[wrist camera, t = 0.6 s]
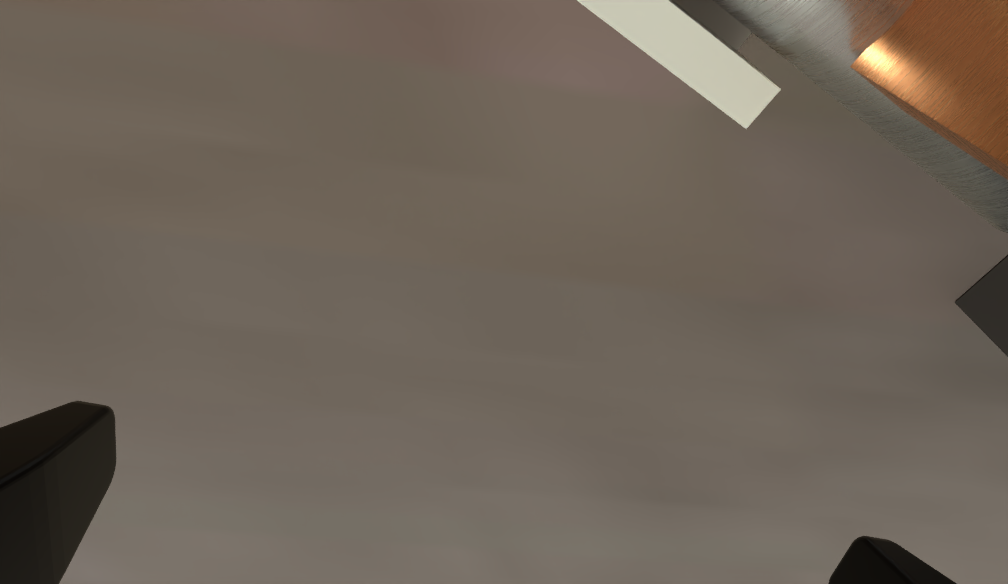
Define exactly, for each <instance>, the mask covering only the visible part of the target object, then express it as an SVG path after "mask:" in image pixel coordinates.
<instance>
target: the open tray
mask: <svg viewBox="0 0 1008 584" xmlns="http://www.w3.org/2000/svg"><path fill="white" fill-rule="evenodd" d="M577 1H578V2H580V3H581V4H582V5H584V6H585V7H586V8H588V9H589V10H590V11H592V12H593V13H594V14H596V15H597V16H598V17H599V18H601V19H602V20H603V21H605V22H606V23H607V24H609V25H610V26H611V27H613V28H614V29H615V30H617V31H618V32H619V33H621V34H622V35H623V36H624V37H626V38H627V39H628V40H630V41H631V42H632V43H634V44H635V45H636V46H638V47H639V48H640V49H642V50H643V51H644V52H646V53H647V54H648V55H649V56H651V57H652V58H653V59H655V60H656V61H657V62H659V63H660V64H661V65H663V66H664V67H665V68H667V69H668V70H669V71H671V72H672V73H673V74H674V75H676V76H677V77H678V78H680V79H681V80H682V81H684V82H685V83H686V84H688V85H689V86H690V87H692V88H693V89H694V90H696V91H697V92H698V93H699V94H701V95H702V96H703V97H705V98H706V99H707V100H709V101H710V102H711V103H713V104H714V105H715V106H717V107H718V108H719V109H721V110H722V111H723V112H725V113H726V114H727V115H728V116H730V117H731V118H732V119H734V120H735V121H736V122H738V123H739V124H740V125H742V126H743V127H744V128H746V129H747V128H748V126H749V125H750V124H751V123H752V122H753V121H754V119H755V118H756V117H757V116H758V115H759V114H760V113H761V111H762V110H763V109H764V108H765V107H766V106H767V105H768V103H769V102H770V101H771V100H772V99H773V98H774V97H775V95H776V94H777V93H778V92H779V91H780V90H781V89H780V88H779V87H778V86H776V85H775V84H774V83H773V82H772V81H771V80H770V79H769V78H767V77H766V76H765V75H764V74H763V73H762V72H761V71H759V70H758V69H757V68H756V67H755V66H754V65H753V64H752V63H750V62H749V61H748V60H747V59H746V58H745V57H744V56H743V55H741V54H740V53H739V52H738V49H739V48H740V47H741V46H742V44H743V43H744V42H745V41H746V40H747V38H748V37H749V36H750V35H751V34H752V32H751V31H750V30H749V29H748V28H746V27H745V26H744V25H743V24H741V23H740V22H739V21H738V20H736V19H735V18H734V17H733V16H731V15H730V14H729V13H728V12H726V11H725V10H724V9H723V8H721V7H720V6H719V5H718V4H717V3H715V2H714V1H713V0H577Z"/></svg>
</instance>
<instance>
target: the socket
mask: <svg viewBox="0 0 1008 584" xmlns="http://www.w3.org/2000/svg"><path fill="white" fill-rule="evenodd" d="M955 303H956V304H957V305H958V306H959V307H960V308H961V309H962V310H963V312H964V313H965V314H966V315H967V316H968V317H969V318H970V319H971V320H972V321H973V322H974V323H975V324H976V325H977V326H978V327H979V328H980V329H981V330H982V331H983V332H984V333H985V334H986V335H987V336H988V337H989V338H990V339H991V340H992V341H993V342H994V343H995V344H996V345H997V346H998V347H999V348H1000V349H1001V350H1002V351H1003V352H1004V353H1005V354H1006V355H1007V356H1008V256H1007V257H1006V258H1005V259H1004V260H1003V261H1002V262H1000V263H999V264H998V265H997V266H996V267H995V268H994V269H993V270H991V271H990V272H989V273H988V274H987V275H986V276H985V277H983V278H982V279H981V280H980V281H979V282H978V283H977V284H975V285H974V286H973V287H972V288H971V289H970V290H969V291H967V292H966V293H965V294H964V295H963V296H962V297H961V298H959V299H958V300H957V301H956V302H955Z"/></svg>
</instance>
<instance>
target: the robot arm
mask: <svg viewBox="0 0 1008 584" xmlns="http://www.w3.org/2000/svg"><path fill="white" fill-rule="evenodd" d="M115 466H116V437H115V416H114V412H113V410H112V409H111V408H110V407H109V406H106V405H100V404H94V403H88V402H82V401H75V402H70V403H68V404H65V405H62V406H59V407H56V408H54V409H51V410H48V411H45V412H43V413H40V414H37V415H34V416H32V417H29V418H26V419H23V420H20V421H18V422H15V423H12V424H9V425H7V426H4V427H1V428H0V584H59V582H60V581H61V579H62V577H63V575H64V573H65V571H66V569H67V568H68V566H69V564H70V562H71V560H72V558H73V556H74V554H75V552H76V550H77V548H78V546H79V544H80V542H81V540H82V538H83V536H84V534H85V532H86V531H87V529H88V527H89V525H90V523H91V521H92V519H93V517H94V515H95V513H96V511H97V509H98V507H99V505H100V503H101V501H102V499H103V497H104V495H105V494H106V492H107V490H108V488H109V486H110V483H111V481H112V478H113V475H114V471H115ZM829 584H956V583H955V582H953V581H952V580H950V579H949V578H947V577H946V576H944V575H943V574H941V573H940V572H938V571H937V570H935V569H934V568H932V567H931V566H929V565H928V564H926V563H925V562H923V561H922V560H920V559H919V558H917V557H916V556H914V555H913V554H911V553H910V552H908V551H907V550H905V549H904V548H902V547H901V546H899V545H898V544H896V543H894V542H892V541H890V540H886V539H880V538H874V537H869V536H861V537H858V538H857V539H856V540H854V541H853V543H852V544H851V546H850V547H849V549H848V550H847V552H846V554H845V555H844V557H843V558H842V560H841V561H840V563H839V564H838V566H837V568H836V569H835V571H834V572H833V574H832V575H831V577H830V580H829Z"/></svg>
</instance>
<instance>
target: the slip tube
mask: <svg viewBox="0 0 1008 584" xmlns="http://www.w3.org/2000/svg"><path fill="white" fill-rule="evenodd" d="M713 1H714V2H715V3H717V4H718V5H719V6H720V7H721V8H723V9H724V10H725V11H726V12H728V13H729V14H730V15H731V16H733V17H734V18H735V19H736V20H738V21H739V22H740V23H741V24H743V25H744V26H745V27H746V28H748V29H749V30H750V31H751V32H753V33H754V34H755V35H756V36H757V37H759V38H760V39H761V40H762V41H764V42H765V43H766V44H767V45H769V46H770V47H771V48H772V49H774V50H775V51H776V52H777V53H779V54H780V55H781V56H782V57H784V58H785V59H786V60H787V61H788V62H790V63H791V64H792V65H793V66H795V67H796V68H797V69H798V70H800V71H801V72H802V73H803V74H805V75H806V76H807V77H808V78H810V79H811V80H812V81H813V82H815V83H816V84H817V85H818V86H819V87H821V88H822V89H823V90H824V91H826V92H827V93H828V94H829V95H831V96H832V97H833V98H834V99H836V100H837V101H838V102H839V103H841V104H842V105H843V106H844V107H846V108H847V109H848V110H849V111H850V112H852V113H853V114H854V115H855V116H857V117H858V118H859V119H860V120H862V121H863V122H864V123H865V124H867V125H868V126H869V127H870V128H872V129H873V130H874V131H875V132H877V133H878V134H879V135H880V136H881V137H883V138H884V139H885V140H886V141H888V142H889V143H890V144H891V145H893V146H894V147H895V148H896V149H898V150H899V151H900V152H901V153H903V154H904V155H905V156H906V157H908V158H909V159H910V160H911V161H912V162H914V163H915V164H916V165H917V166H919V167H920V168H921V169H922V170H924V171H925V172H926V173H927V174H929V175H930V176H931V177H932V178H934V179H935V180H936V181H937V182H939V183H940V184H941V185H942V186H944V187H945V188H946V189H947V190H948V191H950V192H951V193H952V194H953V195H955V196H956V197H957V198H958V199H960V200H961V201H962V202H963V203H965V204H966V205H967V206H968V207H970V208H971V209H972V210H973V211H975V212H976V213H977V214H978V215H979V216H981V217H982V218H983V219H984V220H986V221H987V222H988V223H989V224H991V225H992V226H993V227H995V228H997V229H998V230H1001V231H1003V232H1007V233H1008V0H713Z"/></svg>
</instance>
